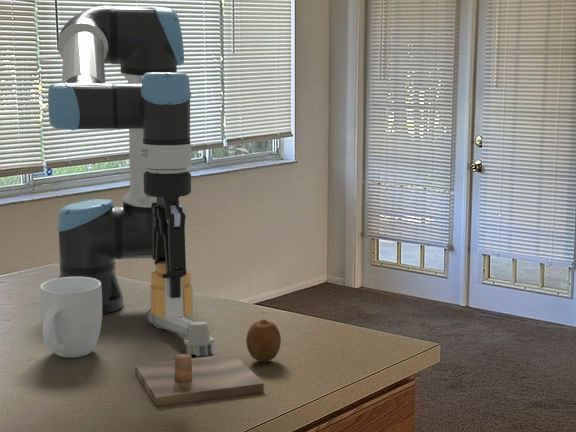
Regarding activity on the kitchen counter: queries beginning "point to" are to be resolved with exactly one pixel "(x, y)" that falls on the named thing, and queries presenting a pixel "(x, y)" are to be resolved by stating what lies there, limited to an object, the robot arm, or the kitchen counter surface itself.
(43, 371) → the kitchen counter surface
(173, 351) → the kitchen counter surface
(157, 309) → the acorn cap nut
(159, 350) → the kitchen counter surface
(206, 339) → the electric scrub brush
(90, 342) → the mug
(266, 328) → the fruit
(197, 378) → the post board
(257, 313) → the kitchen counter surface
